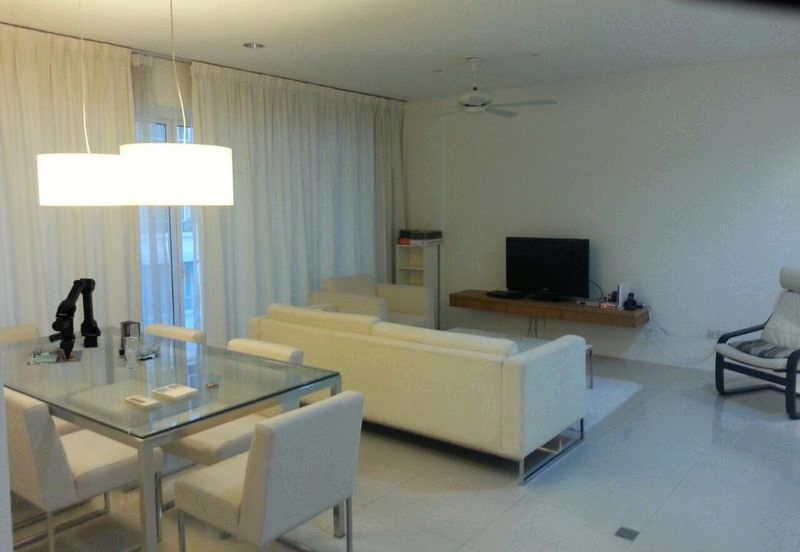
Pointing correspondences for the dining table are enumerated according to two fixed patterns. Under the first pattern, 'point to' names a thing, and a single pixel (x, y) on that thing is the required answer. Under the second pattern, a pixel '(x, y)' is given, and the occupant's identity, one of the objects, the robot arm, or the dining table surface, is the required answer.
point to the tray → (45, 359)
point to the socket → (68, 359)
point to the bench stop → (37, 351)
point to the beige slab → (57, 351)
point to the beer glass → (132, 350)
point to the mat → (78, 359)
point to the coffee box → (129, 331)
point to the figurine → (144, 349)
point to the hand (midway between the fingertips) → (68, 356)
